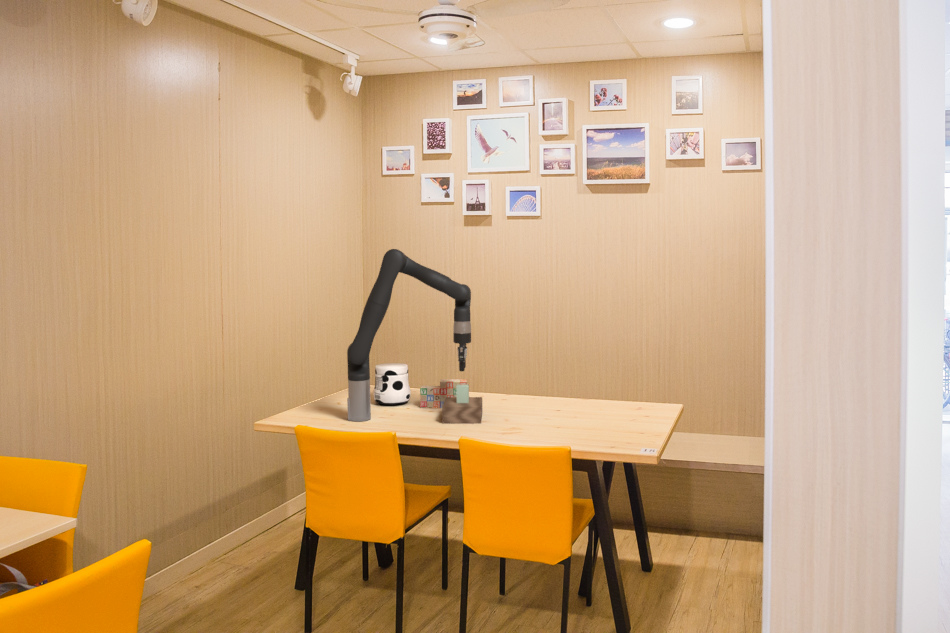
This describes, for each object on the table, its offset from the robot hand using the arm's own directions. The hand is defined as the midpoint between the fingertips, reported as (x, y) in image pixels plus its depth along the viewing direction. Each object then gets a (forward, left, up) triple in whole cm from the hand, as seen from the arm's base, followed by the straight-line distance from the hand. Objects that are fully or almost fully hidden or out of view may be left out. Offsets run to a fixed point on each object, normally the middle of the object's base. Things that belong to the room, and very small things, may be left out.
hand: (462, 369), depth 321 cm
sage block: (0, 0, -14) cm, 14 cm away
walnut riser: (0, 0, -21) cm, 21 cm away
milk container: (-35, +31, -21) cm, 51 cm away
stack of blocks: (-10, +24, -21) cm, 33 cm away
